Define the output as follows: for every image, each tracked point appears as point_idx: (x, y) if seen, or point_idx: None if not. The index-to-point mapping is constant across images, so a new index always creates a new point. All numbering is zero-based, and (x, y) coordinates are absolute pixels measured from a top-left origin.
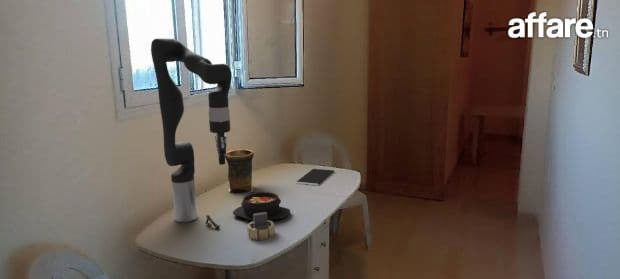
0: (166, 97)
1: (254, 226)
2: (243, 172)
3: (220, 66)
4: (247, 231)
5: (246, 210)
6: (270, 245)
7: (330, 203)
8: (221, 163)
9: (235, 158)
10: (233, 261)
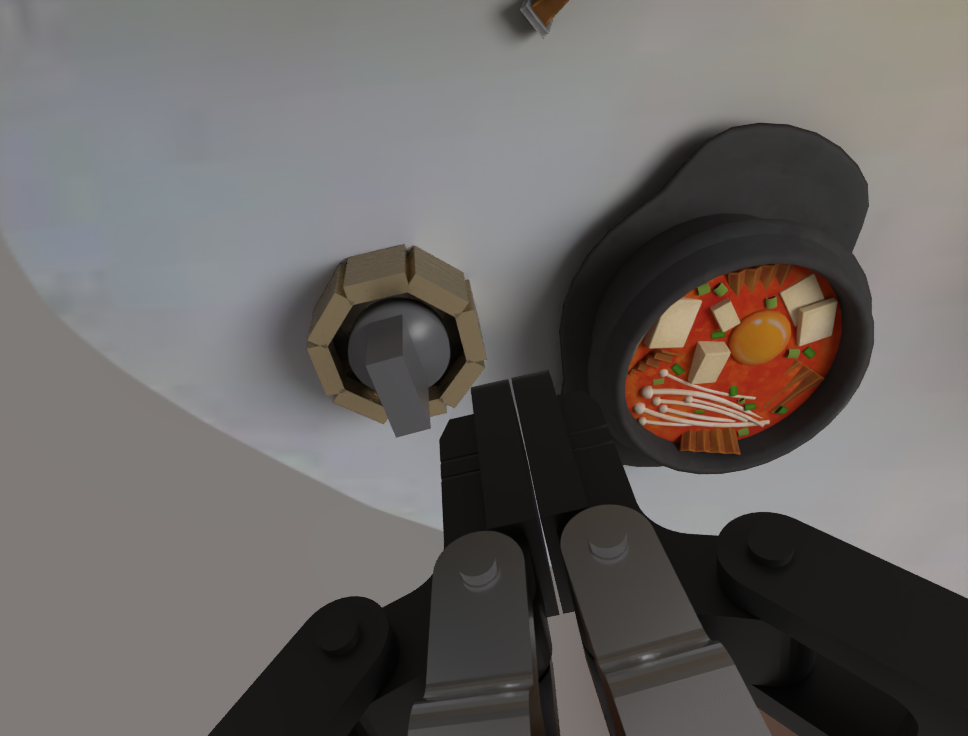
0: None
1: (374, 320)
2: None
3: None
4: (400, 254)
5: (658, 253)
6: (248, 374)
7: None
8: (455, 433)
9: None
10: (8, 191)
